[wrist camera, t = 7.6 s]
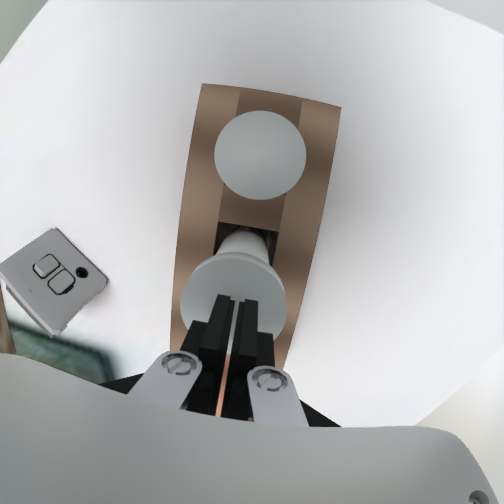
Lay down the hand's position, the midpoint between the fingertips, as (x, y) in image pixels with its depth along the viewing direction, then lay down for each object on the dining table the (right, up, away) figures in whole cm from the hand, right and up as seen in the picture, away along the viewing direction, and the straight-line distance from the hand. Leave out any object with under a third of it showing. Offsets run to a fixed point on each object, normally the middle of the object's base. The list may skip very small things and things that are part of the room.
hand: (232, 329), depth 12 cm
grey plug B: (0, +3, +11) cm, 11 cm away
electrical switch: (-20, +1, +17) cm, 26 cm away
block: (0, +4, +15) cm, 16 cm away
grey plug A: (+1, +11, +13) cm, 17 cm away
